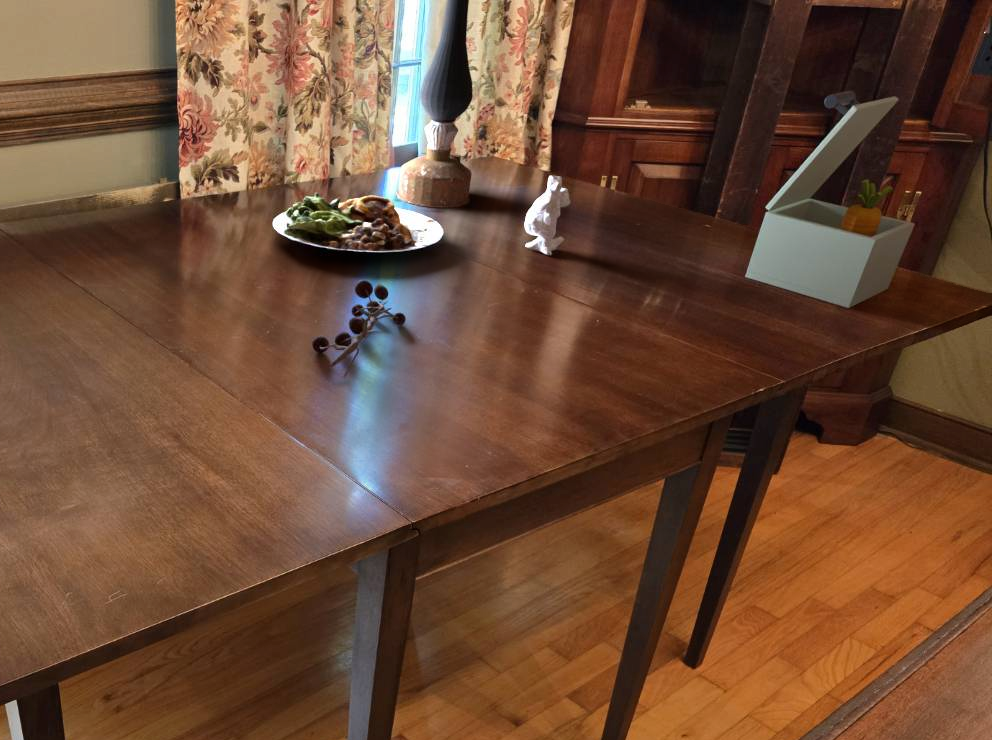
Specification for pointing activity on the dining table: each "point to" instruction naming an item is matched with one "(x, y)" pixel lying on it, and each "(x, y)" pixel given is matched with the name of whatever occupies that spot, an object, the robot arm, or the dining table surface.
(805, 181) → the box lid
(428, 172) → the oil lamp
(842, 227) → the carrot
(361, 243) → the plate of food
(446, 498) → the dining table surface
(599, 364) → the dining table surface
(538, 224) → the white kangaroo figurine
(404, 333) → the dining table surface
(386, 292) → the decorative branch
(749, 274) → the grey-green storage box
